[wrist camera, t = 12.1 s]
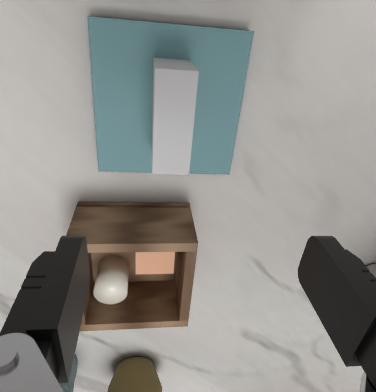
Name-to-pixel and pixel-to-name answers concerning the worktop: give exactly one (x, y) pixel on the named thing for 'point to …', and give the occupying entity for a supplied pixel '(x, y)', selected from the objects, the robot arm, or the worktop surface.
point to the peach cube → (155, 262)
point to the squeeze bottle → (135, 376)
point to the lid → (166, 95)
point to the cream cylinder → (111, 280)
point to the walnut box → (126, 248)
